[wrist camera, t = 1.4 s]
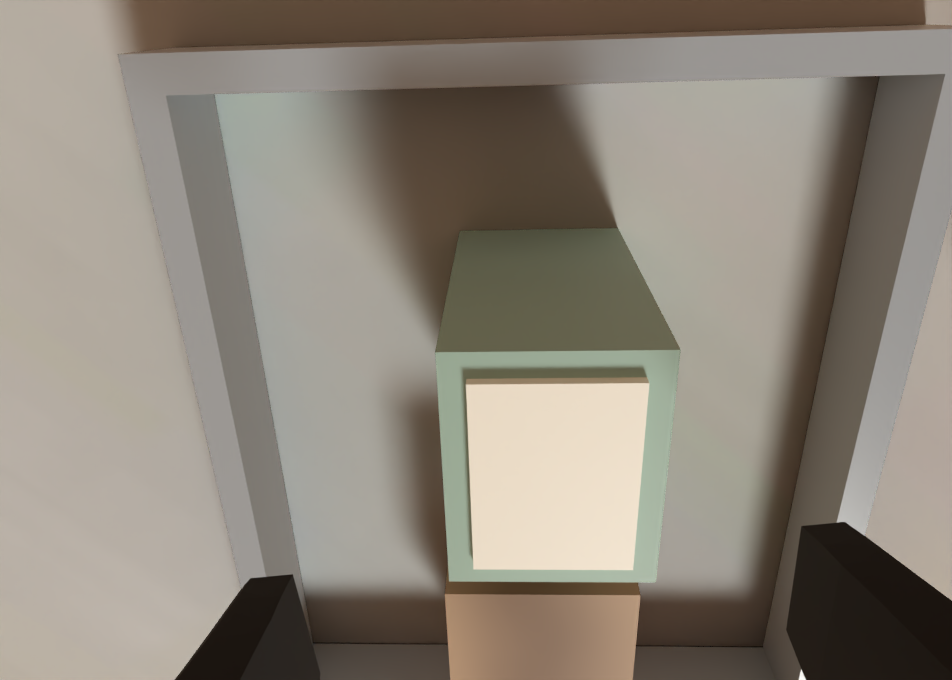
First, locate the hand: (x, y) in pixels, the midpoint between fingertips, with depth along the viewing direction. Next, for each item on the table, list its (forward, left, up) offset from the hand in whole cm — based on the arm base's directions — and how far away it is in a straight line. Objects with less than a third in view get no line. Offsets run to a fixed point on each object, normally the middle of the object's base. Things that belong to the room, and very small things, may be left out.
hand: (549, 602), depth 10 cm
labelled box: (0, 0, -10) cm, 10 cm away
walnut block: (0, +8, -10) cm, 13 cm away
